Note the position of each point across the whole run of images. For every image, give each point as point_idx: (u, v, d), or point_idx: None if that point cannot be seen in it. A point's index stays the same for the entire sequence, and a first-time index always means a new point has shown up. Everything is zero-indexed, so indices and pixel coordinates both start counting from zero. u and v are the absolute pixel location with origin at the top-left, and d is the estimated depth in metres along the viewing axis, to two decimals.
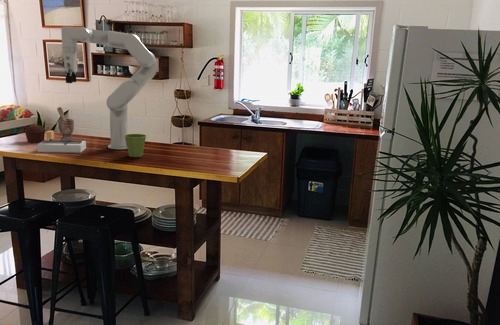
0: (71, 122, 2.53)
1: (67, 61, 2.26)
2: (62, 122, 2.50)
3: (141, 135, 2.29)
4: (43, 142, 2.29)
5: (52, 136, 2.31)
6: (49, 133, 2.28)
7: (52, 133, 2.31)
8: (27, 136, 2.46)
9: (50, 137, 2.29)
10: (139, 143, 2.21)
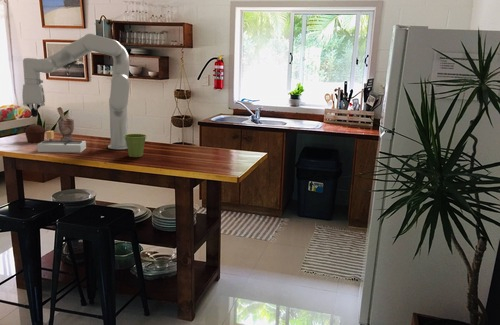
0: (71, 122, 2.53)
1: (42, 93, 2.25)
2: (62, 122, 2.50)
3: (141, 135, 2.29)
4: (43, 142, 2.29)
5: (52, 136, 2.31)
6: (49, 133, 2.28)
7: (52, 133, 2.31)
8: (27, 136, 2.46)
9: (50, 137, 2.29)
10: (139, 143, 2.21)
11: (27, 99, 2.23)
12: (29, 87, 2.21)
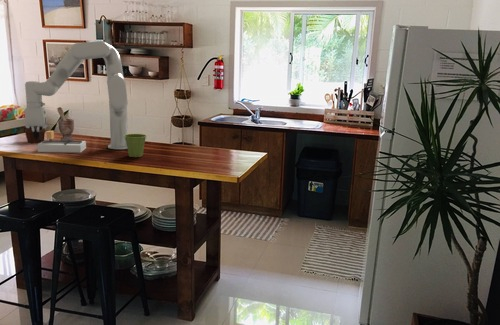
0: (71, 122, 2.53)
1: (44, 115, 2.28)
2: (62, 122, 2.50)
3: (141, 135, 2.29)
4: (43, 142, 2.29)
5: (52, 136, 2.31)
6: (49, 133, 2.28)
7: (52, 133, 2.31)
8: (27, 136, 2.46)
9: (50, 137, 2.29)
10: (139, 143, 2.21)
11: (29, 122, 2.26)
12: (31, 110, 2.24)
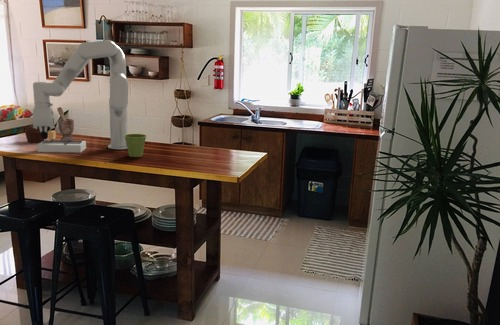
0: (71, 122, 2.53)
1: (52, 116, 2.28)
2: (62, 122, 2.50)
3: (141, 135, 2.29)
4: (43, 142, 2.29)
5: (54, 136, 2.31)
6: (51, 133, 2.28)
7: (54, 133, 2.31)
8: (27, 136, 2.46)
9: (52, 137, 2.29)
10: (139, 143, 2.21)
11: (37, 122, 2.26)
12: (39, 110, 2.25)
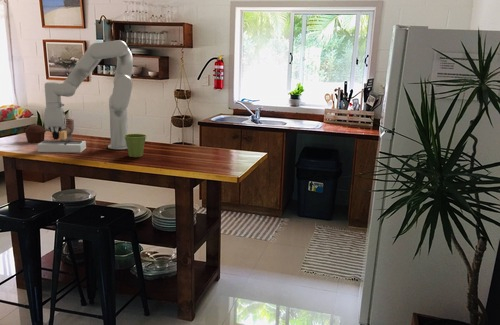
0: (71, 122, 2.53)
1: (63, 116, 2.29)
2: None
3: (141, 135, 2.29)
4: (43, 142, 2.29)
5: (65, 136, 2.32)
6: (62, 133, 2.29)
7: (65, 133, 2.31)
8: (27, 136, 2.46)
9: (63, 137, 2.30)
10: (139, 143, 2.21)
11: (49, 122, 2.27)
12: (51, 110, 2.25)
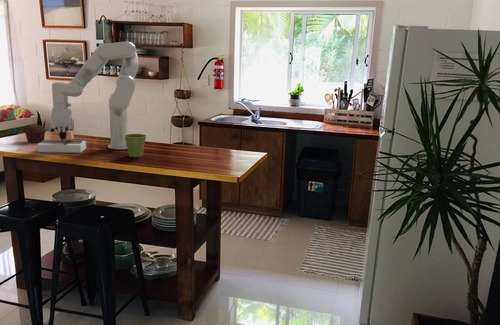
0: None
1: (70, 116, 2.29)
2: None
3: (141, 135, 2.29)
4: (43, 142, 2.29)
5: (72, 136, 2.32)
6: (69, 133, 2.30)
7: (72, 133, 2.32)
8: (27, 136, 2.46)
9: (70, 137, 2.30)
10: (139, 143, 2.21)
11: (56, 122, 2.27)
12: (58, 110, 2.26)
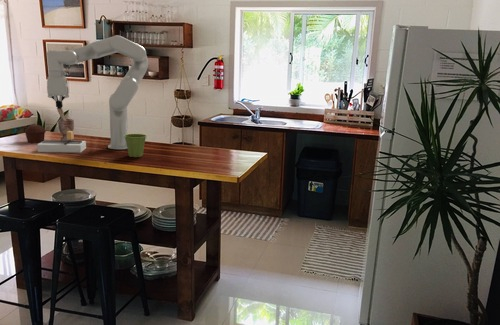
0: (71, 122, 2.53)
1: (66, 85, 2.28)
2: (62, 122, 2.50)
3: (141, 135, 2.29)
4: (43, 142, 2.29)
5: (72, 136, 2.32)
6: (69, 133, 2.30)
7: (72, 133, 2.32)
8: (27, 136, 2.46)
9: (70, 137, 2.30)
10: (139, 143, 2.21)
11: (52, 91, 2.26)
12: (54, 79, 2.24)
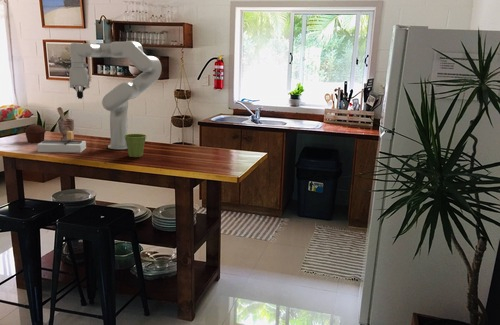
0: (71, 122, 2.53)
1: (88, 76, 2.39)
2: (62, 122, 2.50)
3: (141, 135, 2.29)
4: (43, 142, 2.29)
5: (72, 136, 2.32)
6: (69, 133, 2.30)
7: (72, 133, 2.32)
8: (27, 136, 2.46)
9: (70, 137, 2.30)
10: (139, 143, 2.21)
11: (74, 82, 2.37)
12: (76, 70, 2.36)
